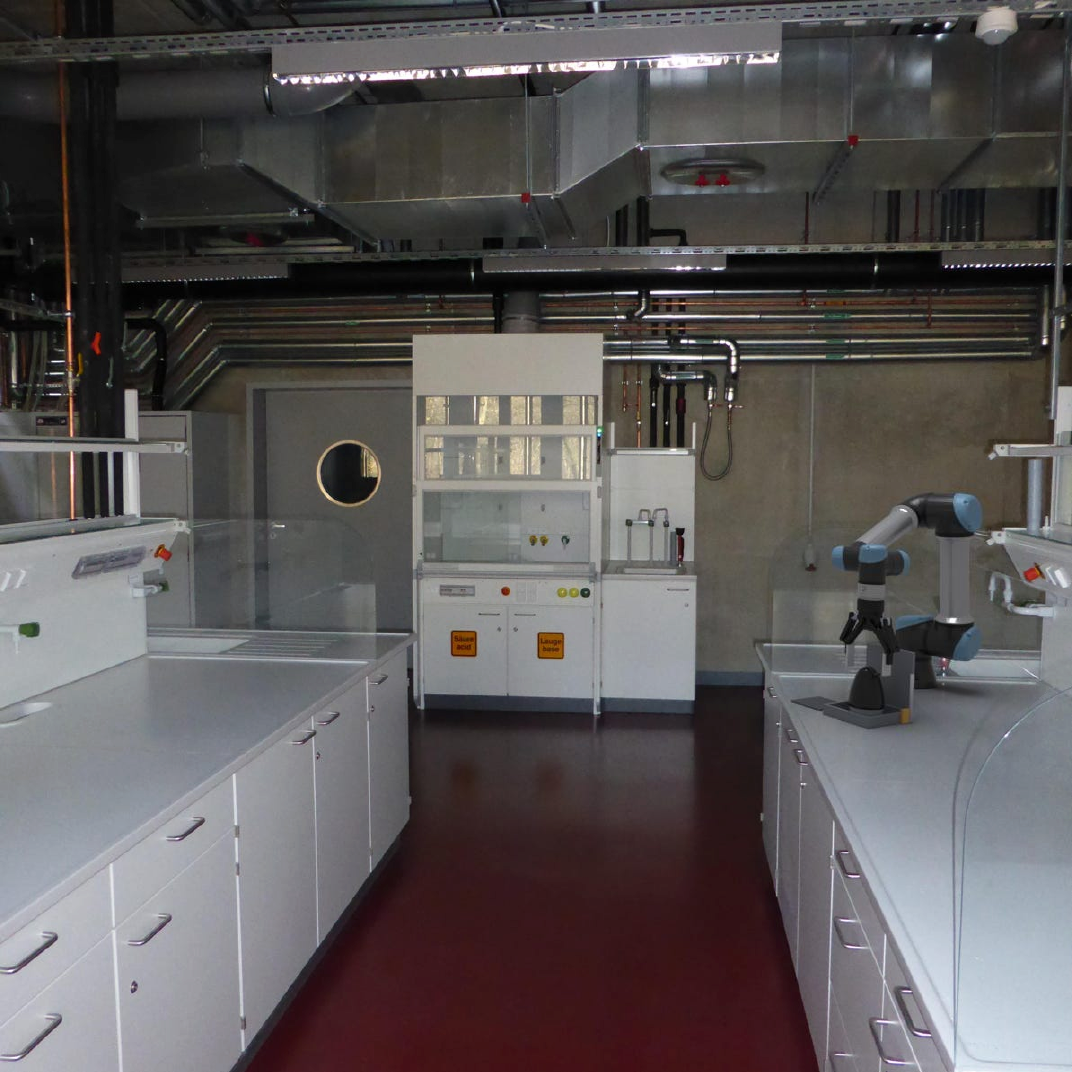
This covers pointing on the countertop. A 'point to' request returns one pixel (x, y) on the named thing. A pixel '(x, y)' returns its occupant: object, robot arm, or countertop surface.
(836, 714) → the case
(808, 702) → the pad
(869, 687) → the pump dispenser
